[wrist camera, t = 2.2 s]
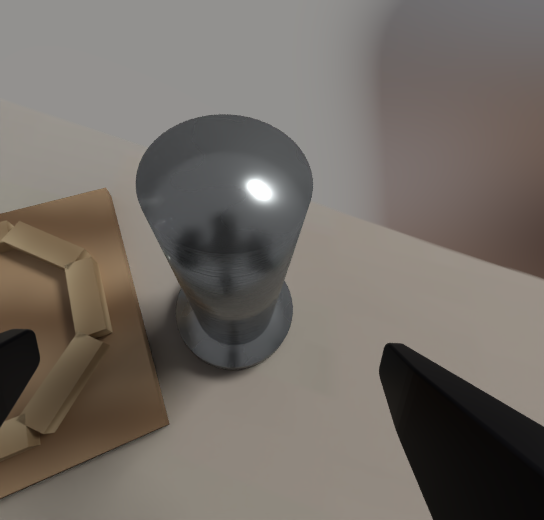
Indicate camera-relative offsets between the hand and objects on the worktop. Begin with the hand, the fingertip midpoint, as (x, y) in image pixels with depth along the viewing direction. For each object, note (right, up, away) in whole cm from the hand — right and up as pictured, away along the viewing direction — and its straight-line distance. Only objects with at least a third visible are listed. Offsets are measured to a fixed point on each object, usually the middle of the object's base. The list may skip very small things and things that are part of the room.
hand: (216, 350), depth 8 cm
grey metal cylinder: (-1, -1, +12) cm, 12 cm away
